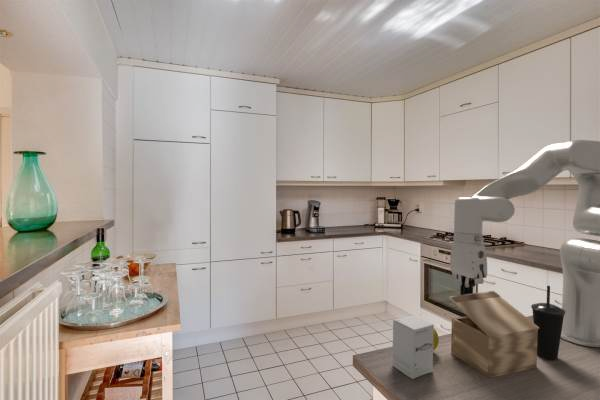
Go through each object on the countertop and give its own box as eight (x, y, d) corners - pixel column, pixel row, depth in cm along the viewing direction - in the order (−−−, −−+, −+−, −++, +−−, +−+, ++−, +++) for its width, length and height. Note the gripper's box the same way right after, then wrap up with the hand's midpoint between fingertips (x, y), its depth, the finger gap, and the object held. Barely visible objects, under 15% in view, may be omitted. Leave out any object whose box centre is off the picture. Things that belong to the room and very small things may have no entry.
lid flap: (492, 292, 99) (493, 290, 98) (538, 329, 86) (539, 327, 85) (448, 298, 93) (449, 296, 93) (490, 338, 80) (491, 336, 80)
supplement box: (412, 380, 80) (413, 329, 79) (391, 365, 86) (392, 318, 86) (433, 372, 83) (434, 324, 83) (411, 359, 90) (412, 314, 89)
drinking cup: (527, 356, 91) (529, 286, 91) (532, 346, 97) (534, 280, 96) (562, 366, 86) (565, 292, 85) (565, 355, 92) (567, 285, 91)
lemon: (440, 357, 90) (440, 329, 90) (419, 355, 91) (419, 327, 91) (436, 348, 96) (436, 321, 95) (416, 346, 97) (416, 320, 97)
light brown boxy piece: (493, 344, 98) (494, 311, 98) (536, 366, 86) (537, 329, 85) (451, 352, 93) (451, 318, 93) (490, 377, 81) (491, 338, 80)
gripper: (499, 241, 91) (498, 306, 92) (458, 234, 105) (457, 290, 106) (478, 243, 89) (477, 309, 89) (439, 235, 103) (438, 292, 104)
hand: (466, 298), depth 98 cm, fingers closed
